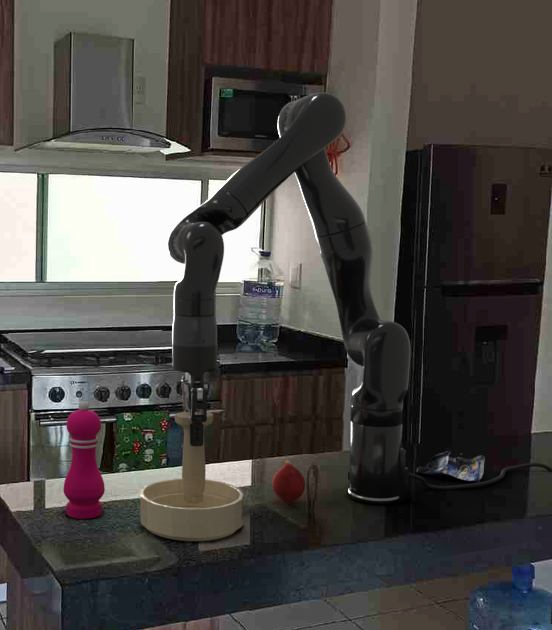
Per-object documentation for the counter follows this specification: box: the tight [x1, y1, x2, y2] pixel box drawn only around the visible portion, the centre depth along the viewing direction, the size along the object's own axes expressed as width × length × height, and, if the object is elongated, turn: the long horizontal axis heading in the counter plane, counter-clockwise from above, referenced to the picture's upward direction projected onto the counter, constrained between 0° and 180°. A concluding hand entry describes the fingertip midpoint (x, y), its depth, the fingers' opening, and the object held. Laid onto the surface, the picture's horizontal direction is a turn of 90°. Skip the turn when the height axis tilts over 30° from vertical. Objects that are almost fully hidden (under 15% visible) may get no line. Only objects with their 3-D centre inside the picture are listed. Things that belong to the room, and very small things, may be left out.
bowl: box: [139, 478, 245, 542], centre depth 139 cm, size 17×17×6 cm
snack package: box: [416, 450, 486, 483], centre depth 168 cm, size 12×6×12 cm
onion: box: [271, 460, 306, 505], centre depth 150 cm, size 6×6×8 cm
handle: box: [174, 411, 214, 504], centre depth 140 cm, size 5×6×15 cm
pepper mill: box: [62, 400, 106, 520], centre depth 144 cm, size 7×7×20 cm
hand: (194, 441), depth 140 cm, fingers closed on handle, 5 cm apart
